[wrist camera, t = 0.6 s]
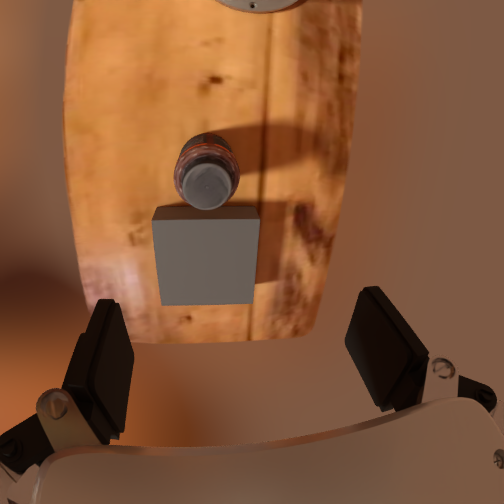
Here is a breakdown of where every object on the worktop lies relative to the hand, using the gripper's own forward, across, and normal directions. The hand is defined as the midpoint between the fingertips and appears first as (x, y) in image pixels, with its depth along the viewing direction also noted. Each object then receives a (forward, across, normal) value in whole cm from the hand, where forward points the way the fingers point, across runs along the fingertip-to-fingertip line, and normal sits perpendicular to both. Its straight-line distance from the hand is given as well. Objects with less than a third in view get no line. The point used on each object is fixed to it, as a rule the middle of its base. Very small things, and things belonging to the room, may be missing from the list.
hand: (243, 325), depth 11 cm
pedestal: (+26, +1, +11) cm, 28 cm away
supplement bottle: (+26, +1, -2) cm, 26 cm away
